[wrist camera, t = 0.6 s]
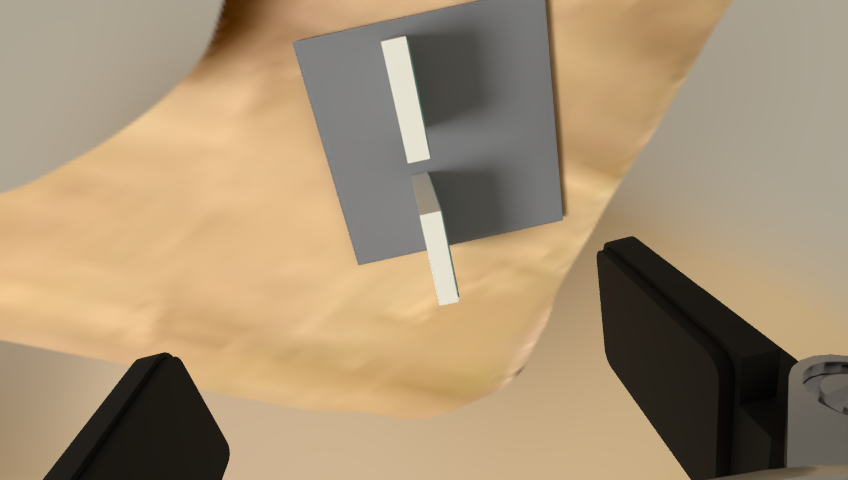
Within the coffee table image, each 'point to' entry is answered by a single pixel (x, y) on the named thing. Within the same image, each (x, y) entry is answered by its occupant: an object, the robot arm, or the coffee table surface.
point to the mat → (440, 124)
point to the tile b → (435, 239)
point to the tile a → (406, 98)
